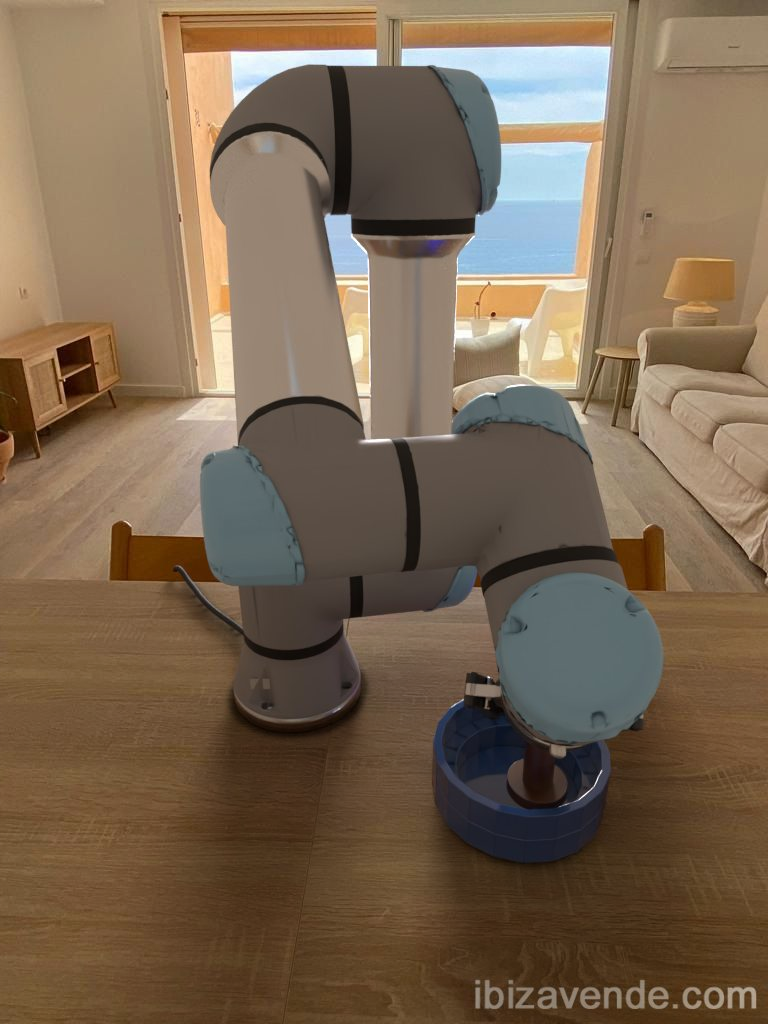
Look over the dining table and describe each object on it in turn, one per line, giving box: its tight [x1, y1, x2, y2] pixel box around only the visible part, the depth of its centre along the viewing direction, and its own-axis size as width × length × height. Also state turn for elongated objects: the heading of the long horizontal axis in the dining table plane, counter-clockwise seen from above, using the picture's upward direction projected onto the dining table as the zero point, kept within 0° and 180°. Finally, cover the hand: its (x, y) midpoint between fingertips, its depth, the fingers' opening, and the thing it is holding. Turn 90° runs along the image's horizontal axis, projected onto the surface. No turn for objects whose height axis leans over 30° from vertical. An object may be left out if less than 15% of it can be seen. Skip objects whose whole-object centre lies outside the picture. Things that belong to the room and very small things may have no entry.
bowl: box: [431, 698, 612, 864], centre depth 68 cm, size 17×17×6 cm
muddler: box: [506, 741, 568, 810], centre depth 62 cm, size 6×6×15 cm
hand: (541, 718), depth 67 cm, fingers closed on muddler, 3 cm apart
